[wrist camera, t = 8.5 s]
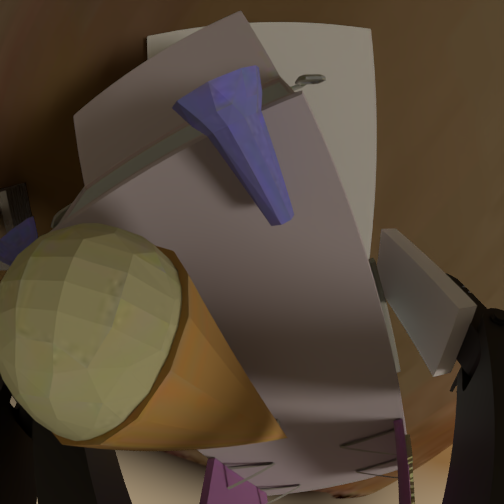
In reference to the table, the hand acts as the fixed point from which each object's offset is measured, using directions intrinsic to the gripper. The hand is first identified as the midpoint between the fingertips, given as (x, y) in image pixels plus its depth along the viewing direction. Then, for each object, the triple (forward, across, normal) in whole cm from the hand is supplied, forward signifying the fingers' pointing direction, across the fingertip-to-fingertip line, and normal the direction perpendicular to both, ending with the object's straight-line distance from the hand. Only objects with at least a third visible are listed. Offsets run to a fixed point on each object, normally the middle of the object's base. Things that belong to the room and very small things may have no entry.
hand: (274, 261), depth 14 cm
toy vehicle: (+4, 0, 0) cm, 4 cm away
